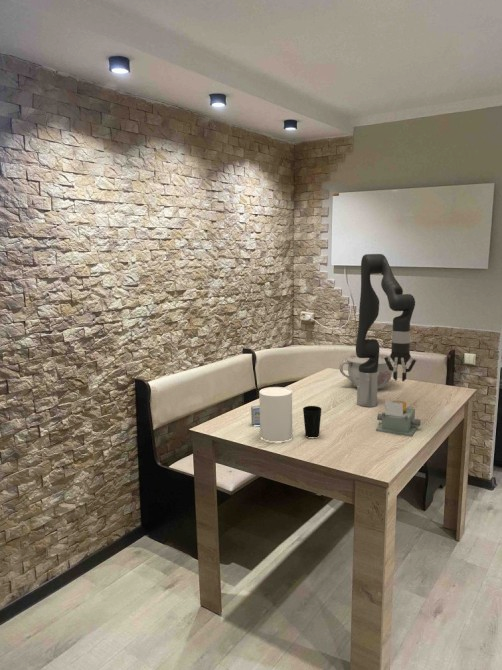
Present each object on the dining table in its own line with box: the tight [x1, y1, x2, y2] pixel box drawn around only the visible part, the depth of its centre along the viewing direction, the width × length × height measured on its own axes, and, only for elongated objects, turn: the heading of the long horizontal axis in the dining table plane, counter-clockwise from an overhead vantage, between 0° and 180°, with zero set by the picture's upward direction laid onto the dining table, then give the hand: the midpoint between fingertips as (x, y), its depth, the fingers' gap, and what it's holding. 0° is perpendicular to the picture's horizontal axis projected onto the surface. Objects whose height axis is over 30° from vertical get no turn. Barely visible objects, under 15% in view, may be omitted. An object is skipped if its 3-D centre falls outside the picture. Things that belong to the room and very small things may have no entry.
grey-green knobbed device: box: [375, 407, 422, 437], centre depth 217 cm, size 18×18×8 cm
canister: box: [258, 386, 293, 441], centre depth 207 cm, size 14×14×20 cm
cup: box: [302, 405, 322, 438], centre depth 209 cm, size 8×8×12 cm
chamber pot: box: [338, 353, 394, 391], centre depth 280 cm, size 28×28×21 cm
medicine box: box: [250, 404, 260, 425], centre depth 224 cm, size 8×4×9 cm, turn 105°
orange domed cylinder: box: [392, 400, 407, 414], centre depth 217 cm, size 6×6×10 cm
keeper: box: [384, 400, 403, 419], centre depth 208 cm, size 7×1×8 cm, turn 61°
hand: (399, 380), depth 214 cm, fingers closed
